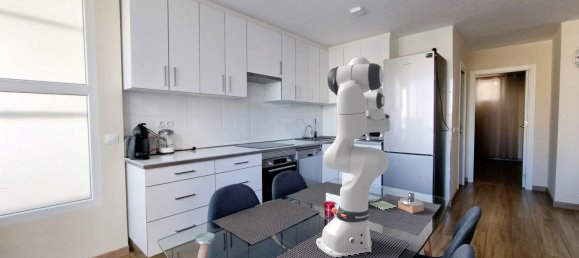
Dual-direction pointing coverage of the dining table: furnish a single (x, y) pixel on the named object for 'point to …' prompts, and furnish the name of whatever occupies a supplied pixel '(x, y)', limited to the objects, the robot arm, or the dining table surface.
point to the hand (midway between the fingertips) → (374, 140)
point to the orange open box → (411, 208)
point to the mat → (382, 205)
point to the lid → (411, 200)
